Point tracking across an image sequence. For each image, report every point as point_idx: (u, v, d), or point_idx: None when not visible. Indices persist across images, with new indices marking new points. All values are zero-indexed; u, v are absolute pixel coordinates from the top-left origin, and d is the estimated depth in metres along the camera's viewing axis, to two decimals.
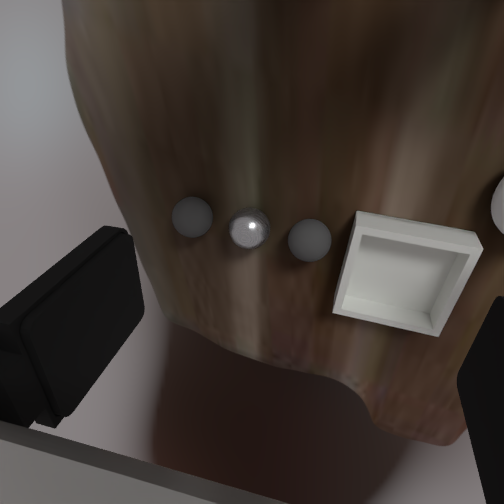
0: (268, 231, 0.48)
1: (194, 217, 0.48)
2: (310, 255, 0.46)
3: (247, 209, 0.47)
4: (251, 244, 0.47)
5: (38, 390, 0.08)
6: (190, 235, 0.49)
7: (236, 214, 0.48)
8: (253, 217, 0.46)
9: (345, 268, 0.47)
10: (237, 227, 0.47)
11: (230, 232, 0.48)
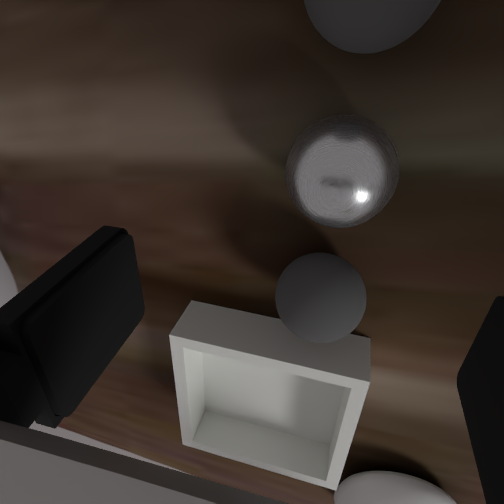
0: None
1: (405, 8, 0.13)
2: (303, 331, 0.21)
3: None
4: (314, 208, 0.17)
5: (38, 390, 0.08)
6: None
7: (391, 146, 0.17)
8: (387, 201, 0.17)
9: (273, 360, 0.25)
10: (368, 168, 0.16)
11: (343, 140, 0.16)
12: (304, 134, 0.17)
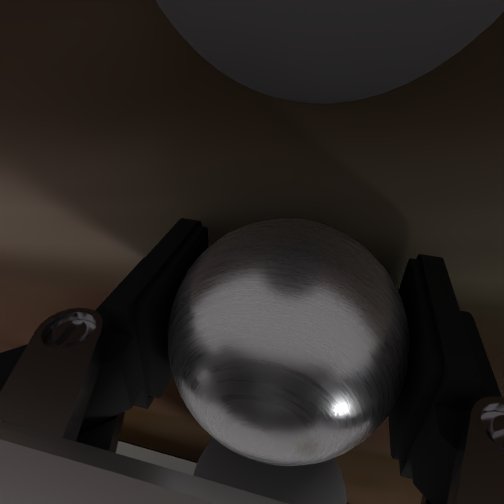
0: None
1: None
2: None
3: None
4: None
5: (140, 371, 0.08)
6: None
7: (392, 312, 0.07)
8: (383, 419, 0.08)
9: None
10: (334, 393, 0.06)
11: (271, 318, 0.06)
12: (195, 272, 0.08)
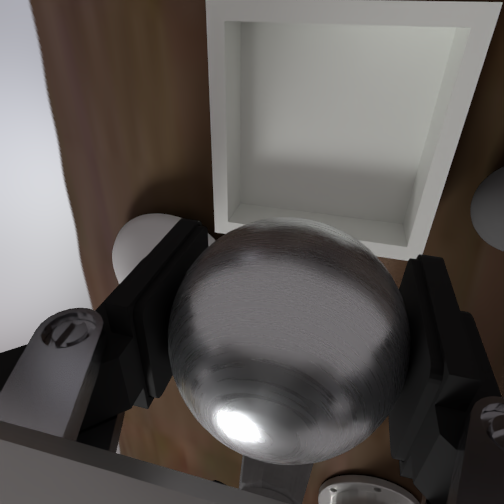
0: None
1: None
2: None
3: None
4: None
5: (140, 371, 0.08)
6: None
7: (393, 311, 0.07)
8: (383, 418, 0.08)
9: (446, 168, 0.21)
10: (334, 392, 0.06)
11: (272, 316, 0.06)
12: (196, 271, 0.08)
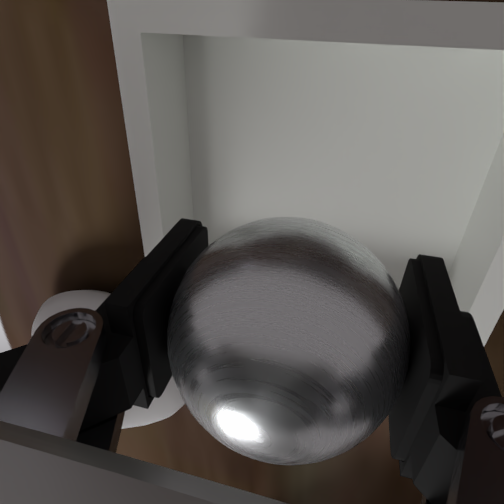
0: None
1: None
2: None
3: None
4: (219, 441, 0.08)
5: (140, 371, 0.08)
6: None
7: (392, 311, 0.07)
8: (383, 418, 0.08)
9: None
10: (334, 391, 0.06)
11: (271, 316, 0.06)
12: (195, 271, 0.08)
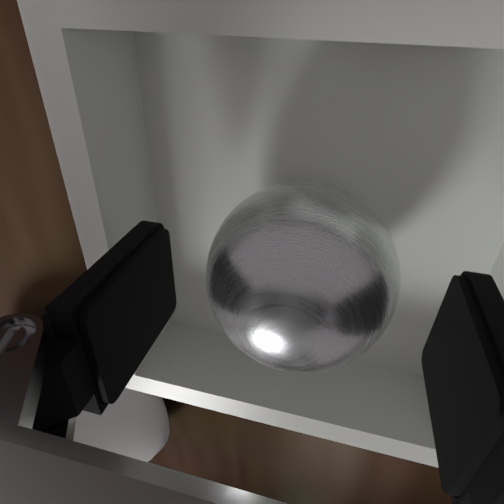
0: None
1: None
2: None
3: None
4: (249, 353, 0.10)
5: (89, 377, 0.08)
6: None
7: (386, 247, 0.09)
8: None
9: None
10: (341, 301, 0.08)
11: (294, 245, 0.08)
12: (231, 220, 0.10)
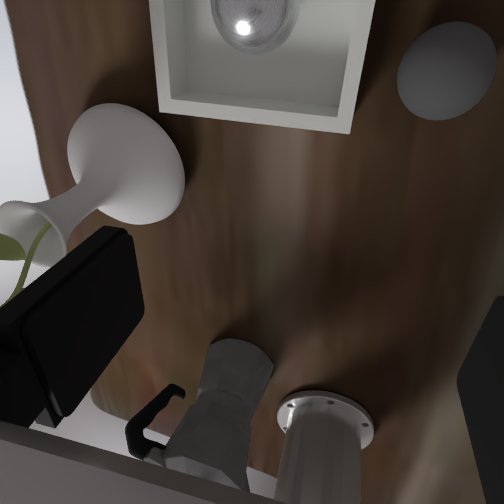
0: (256, 54, 0.24)
1: None
2: (444, 69, 0.21)
3: None
4: (229, 22, 0.22)
5: (37, 390, 0.08)
6: None
7: None
8: (287, 20, 0.22)
9: (368, 25, 0.22)
10: None
11: None
12: None
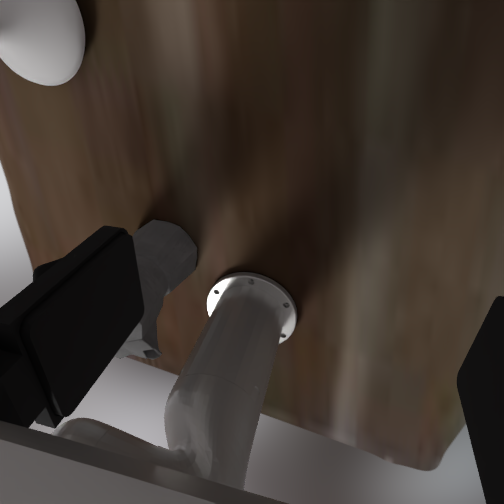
0: None
1: None
2: None
3: None
4: None
5: (37, 390, 0.08)
6: None
7: None
8: None
9: None
10: None
11: None
12: None
